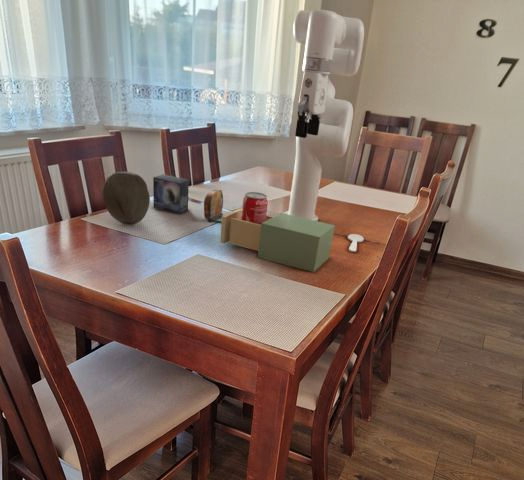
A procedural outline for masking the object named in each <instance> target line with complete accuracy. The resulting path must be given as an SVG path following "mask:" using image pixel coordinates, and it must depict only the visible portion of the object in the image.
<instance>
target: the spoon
mask: <svg viewBox="0 0 524 480" xmlns="http://www.w3.org/2000/svg"><path fill="white" fill-rule="evenodd" d="M347 240H349V241H351V243H350V244H349V245H350V246H349V248H348V251H349V252H351V253H352V252H353V253H355V252H356V253H357V248H358V247H357V246H358V243H363V242H364V240H365V238H364V237H363V236H362V235H361V234H357V233H351V234H349V235H347Z"/></svg>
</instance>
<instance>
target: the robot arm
mask: <svg viewBox="0 0 524 480" xmlns="http://www.w3.org/2000/svg"><path fill="white" fill-rule="evenodd" d="M292 33H293V35H292V36H293V39H294V41H295V42H296V43H297V44H303V45H305V46H304V54H303V60H302V61H303V62H302V68H301V69H302V70H301V71H302V72H303V76H302V80H301V86H300V92H299V98H298V104H297V109H298V110H297V117H296V121H297V122H296V126H295V128H296V129H295V158H294V159H295V160H294V168H293V173H292V174H293V175H292V183H291V189H290V196H289V197H290V198H289V205H288V210H286V211H284V212H283V213H284V214H288V215H292V216H297V217H301V218H305V219H310V220H314V221H318V222H319V216H318V215H317V214H316V209H317V203H318V198H319V197H318V196H319V195H318V194H319V190H320V183H321V178H322V172H323V168H322V165H321V162H320V160H319V159H318V157H317V156H321V157H329V158H337V159H339V158H342V157H344V156H345V154H346V152H347V150H348V147H349V141H350V135H351V130H352V126H353V125H352V124H353V121H354V120H353V119H354V106H353V104H352V102H350V101H348V100H346V99H338V98H335V96H336V88H335V86H334V84H333V82H332V81H331V78H329V76H330V75H333V76H341V77H349V78H350V77H353V76H356V74H357V73H358V72H359V69H360V65H361V60H362V54H363V47H364V39H365V26H364V23H363V21H362V20H361V19H360V18H358V17H349V16H342V15H340V14H338V13H337V12H335V11H331V10H327V9H314V10H306V9H305V10H299V11H298V12H297V13H296V15H295V16H294V20H293V25H292Z"/></svg>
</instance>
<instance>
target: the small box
mask: <svg viewBox="0 0 524 480" xmlns="http://www.w3.org/2000/svg"><path fill="white" fill-rule="evenodd" d="M152 178H153V179H152V182H153V184H152V185H153V190H152V191H153V193H152V194H153V196H152V197H153V208H154V209H157V210H162V211H166V212H170V213H174V214H177V215H181V214H183V213H186V212H187V211H189V190H190V189H189V188H190V187H189V186H190V185H189V183H190V179H187V178H182V177H178V176H174V175H170V174H169V175H168V174H165V173H162V174H159V175H156V176H152Z"/></svg>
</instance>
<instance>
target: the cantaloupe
mask: <svg viewBox="0 0 524 480" xmlns="http://www.w3.org/2000/svg"><path fill="white" fill-rule="evenodd" d="M150 196H151V195H150V192H149V190H148V185H147V183H146V181H145V179H144V178H143V177H142V176H141V175H139V174H138V173H134V172H131V171H115V172H112V173H111V174H110V175H109V176H108V177H106V179H105V181H104V183H103V187H102V201H103V203H104V206H105V208H106V211H107V212H108V214H109V215H110V216H111V217H112V218H113V219H114V220H116V221H117V222H119V223H120V224H124V225H129V226H130V225H136V224H138V223H140V222H141V221H142V220H144V218H145V217H146V215H147V213H148V211H149V208H150V203H151V198H150Z"/></svg>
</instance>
